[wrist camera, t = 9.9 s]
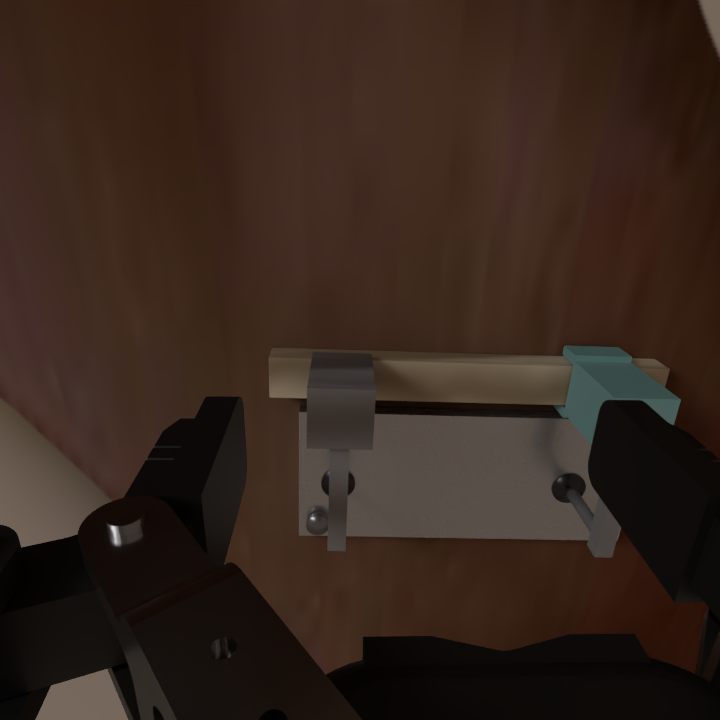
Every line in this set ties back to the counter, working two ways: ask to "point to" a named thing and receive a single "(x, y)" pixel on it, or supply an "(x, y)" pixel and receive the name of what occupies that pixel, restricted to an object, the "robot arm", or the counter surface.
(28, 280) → the counter surface
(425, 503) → the bolt plate
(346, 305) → the counter surface
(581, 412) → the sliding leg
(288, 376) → the rail
